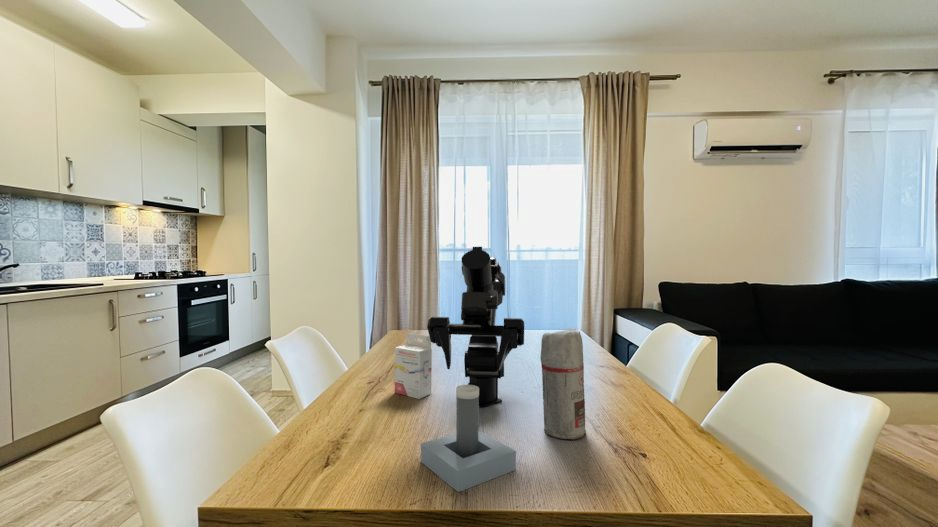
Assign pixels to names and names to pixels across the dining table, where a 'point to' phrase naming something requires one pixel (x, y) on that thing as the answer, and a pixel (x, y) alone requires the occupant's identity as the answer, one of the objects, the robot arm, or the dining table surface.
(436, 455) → the socket
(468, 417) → the peg
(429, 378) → the ink cartridge box
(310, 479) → the dining table surface
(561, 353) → the spray can
